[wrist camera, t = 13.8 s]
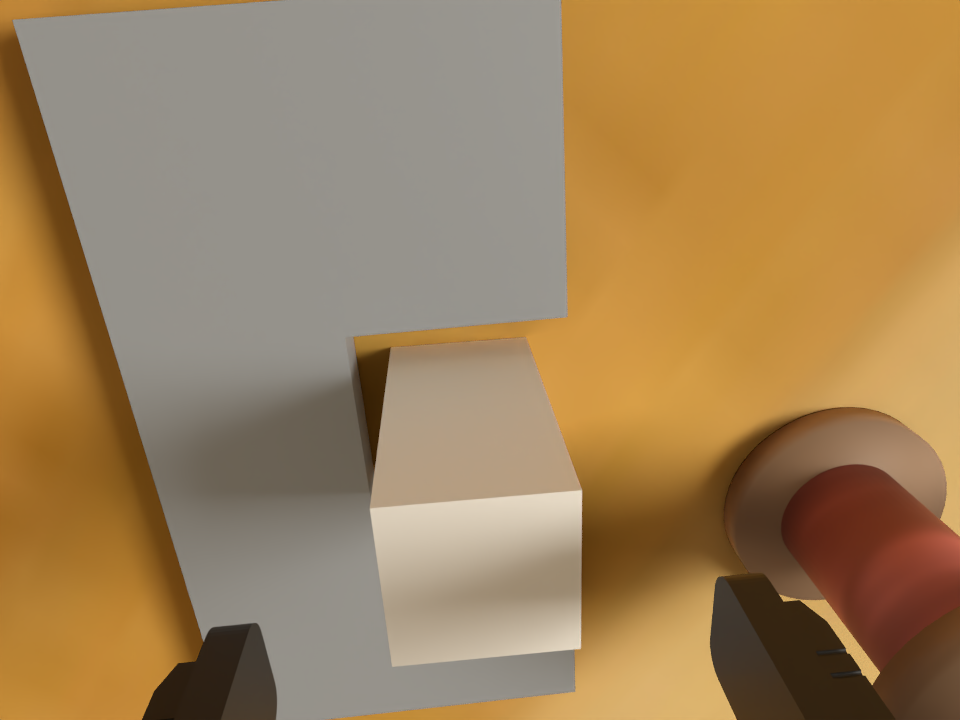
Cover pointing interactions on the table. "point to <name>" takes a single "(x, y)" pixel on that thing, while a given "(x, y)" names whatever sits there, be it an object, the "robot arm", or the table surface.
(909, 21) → the table surface
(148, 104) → the notched board
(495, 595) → the block
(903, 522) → the spool
